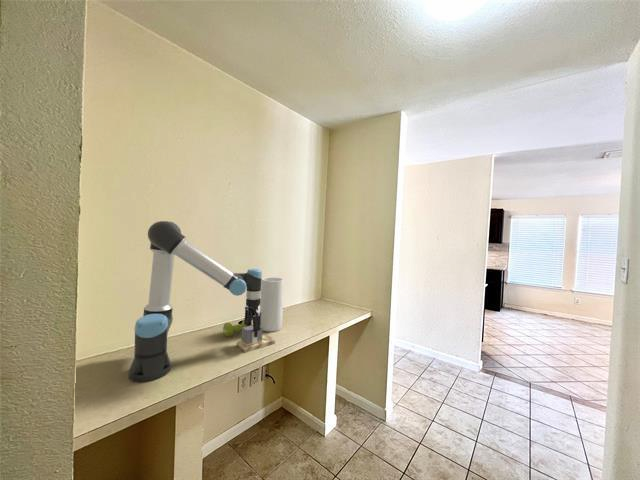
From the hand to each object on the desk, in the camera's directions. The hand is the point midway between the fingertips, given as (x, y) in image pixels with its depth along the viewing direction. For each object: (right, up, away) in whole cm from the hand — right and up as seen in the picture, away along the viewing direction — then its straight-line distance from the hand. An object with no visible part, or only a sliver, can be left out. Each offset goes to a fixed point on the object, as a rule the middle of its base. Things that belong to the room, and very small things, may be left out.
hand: (251, 340), depth 142 cm
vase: (+5, -3, +27) cm, 27 cm away
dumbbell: (-13, -2, +17) cm, 21 cm away
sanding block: (0, -1, 0) cm, 1 cm away
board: (+2, -3, +2) cm, 4 cm away
